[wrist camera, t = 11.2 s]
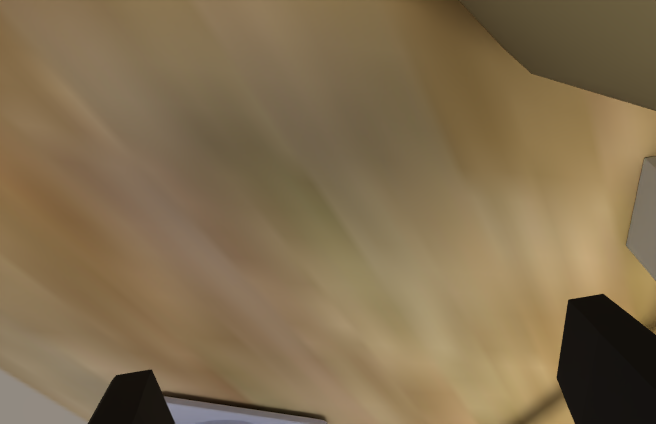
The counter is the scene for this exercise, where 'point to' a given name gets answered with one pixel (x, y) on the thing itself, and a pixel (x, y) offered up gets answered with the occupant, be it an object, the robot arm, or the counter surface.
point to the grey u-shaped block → (645, 219)
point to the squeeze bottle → (580, 42)
